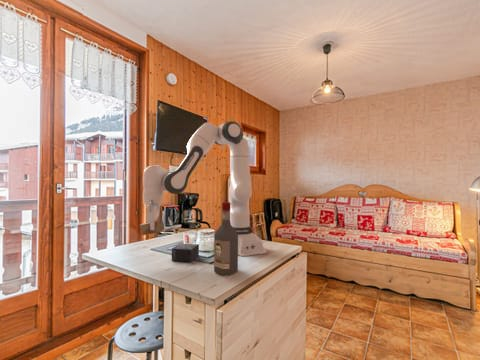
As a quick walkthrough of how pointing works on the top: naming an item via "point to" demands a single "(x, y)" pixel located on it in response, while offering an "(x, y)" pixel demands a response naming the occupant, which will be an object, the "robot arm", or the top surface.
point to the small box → (185, 252)
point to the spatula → (156, 228)
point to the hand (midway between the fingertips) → (153, 228)
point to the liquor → (225, 245)
